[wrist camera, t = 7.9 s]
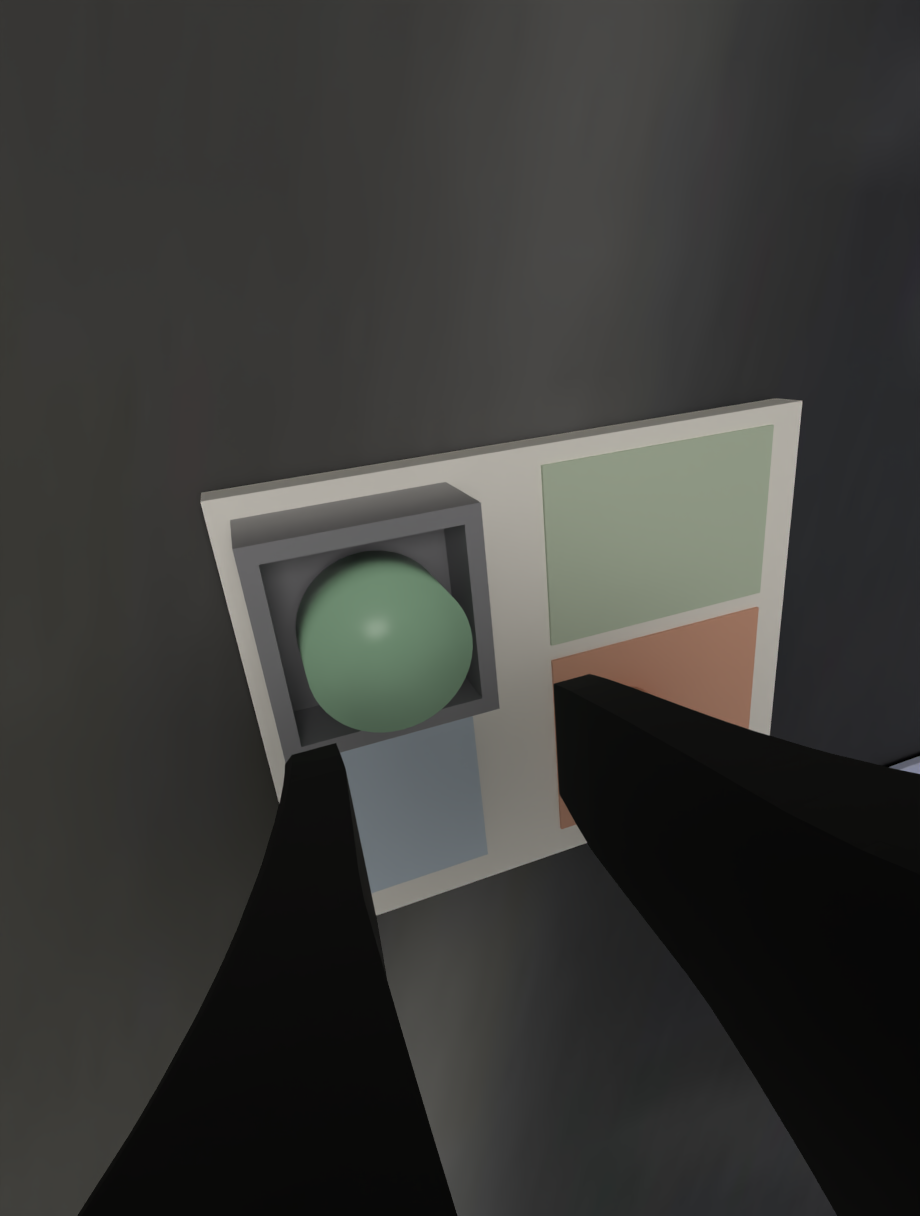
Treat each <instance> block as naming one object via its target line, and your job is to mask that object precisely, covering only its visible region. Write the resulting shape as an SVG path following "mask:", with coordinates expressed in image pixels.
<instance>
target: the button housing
mask: <svg viewBox="0 0 920 1216" xmlns="http://www.w3.org/2000/svg"><path fill="white" fill-rule="evenodd" d="M230 527H231V539H232V550H233V554H234V558H235V562H236V566H237V570H238V574H239V578H240V582H241V586H242V590H243V594H244V598H245V602H246V606H247V610H248V614H249V618H250V622H251V626H252V630H253V634H254V638H255V642H256V646H257V650H258V654H259V658H260V663H261V667H262V671H263V675H264V679H265V683H266V687H267V691H268V695H269V699H270V703H271V707H272V711H273V715H274V719H275V723H276V727H277V731H278V735H279V739H280V743H281V747H282V751H283V755H284V759H285V763H286V762H287V761H288V759H289V758H290V757H291V755H293V754H297V753H301V752H304V751H308V750H312V749H315V748H319V747H323V746H326V745H330V744H334V743H336V744H337V746H338V749H339V752H340V753H341V752H344V751H348V750H351V749H355V748H359V747H362V746H366V745H369V744H373V743H377V742H380V741H384V740H388V739H391V738H395V737H398V736H402V735H406V734H409V733H413V732H417V731H420V730H424V729H427V728H431V727H435V726H438V725H442V724H445V723H449V722H453V721H456V720H460V719H464V718H467V717H471V716H474V715H478V714H482V713H485V712H489V711H493V710H496V709H500V707H499V696H498V685H497V674H496V663H495V652H494V641H493V630H492V619H491V608H490V597H489V586H488V575H487V564H486V554H485V543H484V532H483V521H482V510H481V502H479V501H478V500H476V499H474V498H472V497H471V496H469V495H467V494H466V493H464V492H462V491H460V490H459V489H457V488H455V487H454V486H452V485H450V484H448V483H447V482H442V483H437V484H431V485H425V486H420V487H414V488H408V489H403V490H397V491H391V492H386V493H380V494H374V495H369V496H363V497H357V498H352V499H346V500H340V501H335V502H329V503H323V504H318V505H312V506H306V507H301V508H295V509H289V510H284V511H278V512H272V513H267V514H261V515H255V516H250V517H244V518H238V519H233V520H230ZM365 551H389V552H394V553H398V554H402V555H404V556H407V557H409V558H411V559H413V560H414V561H416V562H418V563H419V564H421V565H422V566H423V567H424V568H426V569H427V570H428V572H429V573H430V574H431V575H432V576H433V577H434V578H435V579H436V580H437V581H438V582H439V583H440V584H441V585H442V586H443V587H444V588H445V589H446V590H447V592H448V593H449V594H450V595H451V596H452V597H453V598H454V599H455V600H456V601H457V602H458V603H459V605H460V606H461V608H462V609H463V611H464V613H465V615H466V617H467V619H468V622H469V625H470V628H471V633H472V640H473V650H472V659H471V663H470V667H469V670H468V673H467V675H466V678H465V680H464V682H463V684H462V686H461V687H460V689H459V690H458V692H457V693H456V695H455V696H454V697H453V698H452V699H451V700H450V702H449V703H448V704H447V705H446V706H444V707H443V708H442V709H441V710H440V711H439V712H437V713H436V714H435V715H433V716H432V717H430V718H429V719H427V720H425V721H424V722H421V723H419V724H417V725H415V726H412V727H409V728H406V729H403V730H398V731H394V732H384V733H381V732H367V731H361V730H357V729H354V728H351V727H349V726H346V725H344V724H342V723H340V722H339V721H337V720H335V719H334V718H332V717H331V716H330V715H329V714H328V713H326V712H325V710H324V709H323V708H322V707H321V706H320V705H319V703H318V702H317V701H316V699H315V698H314V696H313V694H312V691H311V689H310V687H309V683H308V680H307V677H306V673H305V669H304V666H303V662H302V659H301V655H300V651H299V648H298V644H297V639H296V616H297V611H298V608H299V604H300V602H301V600H302V597H303V595H304V593H305V592H306V590H307V588H308V587H309V585H310V584H311V583H312V582H313V580H314V579H315V578H316V577H317V576H318V575H319V574H320V573H321V572H322V571H323V570H324V569H326V568H327V567H329V566H330V565H331V564H333V563H335V562H336V561H338V560H340V559H342V558H344V557H347V556H349V555H352V554H356V553H360V552H365Z"/></svg>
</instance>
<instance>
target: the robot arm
mask: <svg viewBox="0 0 920 1216" xmlns="http://www.w3.org/2000/svg"><path fill="white" fill-rule="evenodd" d="M553 686H554V705H555V723H556V742H557V761H558V780H559V794H560V796H561V798H562V800H563V801H564V803H565V805H566V807H567V809H568V810H569V812H570V814H571V816H572V818H573V819H574V821H575V823H576V825H577V826H578V828H579V830H580V831H581V833H582V835H583V836H584V838H585V840H586V841H587V843H588V845H589V846H590V848H591V850H592V851H593V852H594V854H595V855H596V856H597V858H598V859H599V860H600V862H601V863H602V864H603V866H604V867H605V868H606V870H607V871H608V872H609V874H610V875H611V876H612V878H613V879H614V880H615V881H616V883H617V884H618V885H619V887H620V888H621V889H622V891H623V892H624V893H625V895H626V896H627V897H628V898H629V900H630V901H631V902H632V904H633V905H634V906H635V907H636V909H637V910H638V911H639V913H640V914H641V915H642V916H643V918H644V919H645V920H646V922H647V923H648V924H649V926H650V927H651V928H652V929H653V931H654V932H655V933H656V935H657V936H658V937H659V938H660V940H661V941H662V942H663V944H664V945H665V946H666V947H667V949H668V950H669V951H670V953H671V954H672V955H673V956H674V958H675V959H676V960H677V962H678V963H679V964H680V966H681V967H682V968H683V969H684V971H685V972H686V973H687V975H688V976H689V977H690V979H691V980H692V982H693V983H694V984H695V986H696V987H697V989H698V990H699V991H700V993H701V994H702V996H703V997H704V998H705V1000H706V1001H707V1003H708V1004H709V1005H710V1007H711V1008H712V1010H713V1012H714V1013H715V1015H716V1016H717V1018H718V1019H719V1021H720V1023H721V1024H722V1026H723V1027H724V1029H725V1030H726V1032H727V1034H728V1035H729V1037H730V1038H731V1040H732V1041H733V1043H734V1045H735V1046H736V1048H737V1049H738V1051H739V1053H740V1054H741V1056H742V1057H743V1059H744V1060H745V1062H746V1064H747V1065H748V1067H749V1068H750V1070H751V1071H752V1073H753V1075H754V1076H755V1078H756V1079H757V1081H758V1083H759V1084H760V1086H761V1088H762V1089H763V1091H764V1093H765V1094H766V1096H767V1098H768V1099H769V1101H770V1102H771V1104H772V1106H773V1107H774V1109H775V1111H776V1112H777V1114H778V1116H779V1117H780V1119H781V1121H782V1122H783V1124H784V1126H785V1127H786V1129H787V1131H788V1132H789V1134H790V1136H791V1137H792V1139H793V1140H794V1142H795V1144H796V1145H797V1147H798V1149H799V1150H800V1152H801V1154H802V1155H803V1157H804V1159H805V1160H806V1162H807V1164H808V1166H809V1167H810V1169H811V1171H812V1172H813V1174H814V1176H815V1178H816V1179H817V1181H818V1183H819V1185H820V1186H821V1188H822V1190H823V1192H824V1193H825V1195H826V1197H827V1199H828V1200H829V1202H830V1204H831V1206H832V1207H833V1209H834V1211H835V1212H836V1214H837V1216H920V756H918V757H915V758H912V759H910V760H907V761H904V762H901V763H899V764H896V765H893V766H890V767H885V766H880V765H876V764H872V763H868V762H864V761H860V760H855V759H851V758H847V757H843V756H839V755H835V754H831V753H827V752H823V751H820V750H816V749H812V748H809V747H805V746H802V745H798V744H795V743H792V742H788V741H785V740H782V739H779V738H775V737H772V736H769V735H766V734H762V733H759V732H756V731H753V730H750V729H747V728H744V727H741V726H738V725H735V724H732V723H729V722H726V721H723V720H720V719H717V718H714V717H712V716H709V715H706V714H703V713H700V712H698V711H695V710H692V709H689V708H686V707H684V706H681V705H678V704H676V703H673V702H670V701H667V700H665V699H662V698H659V697H657V696H654V695H651V694H649V693H646V692H643V691H640V690H638V689H635V688H632V687H629V686H627V685H624V684H621V683H618V682H615V681H612V680H609V679H606V678H603V677H599V676H596V675H592V674H587V675H584V676H580V677H576V678H573V679H569V680H565V681H562V682H558V683H554V684H553ZM78 1216H457V1213H456V1210H455V1207H454V1203H453V1200H452V1197H451V1193H450V1190H449V1187H448V1184H447V1180H446V1177H445V1174H444V1170H443V1167H442V1164H441V1161H440V1157H439V1154H438V1151H437V1148H436V1144H435V1141H434V1138H433V1134H432V1131H431V1128H430V1124H429V1121H428V1118H427V1114H426V1111H425V1108H424V1104H423V1101H422V1097H421V1094H420V1091H419V1087H418V1084H417V1081H416V1077H415V1074H414V1070H413V1067H412V1064H411V1060H410V1057H409V1054H408V1050H407V1047H406V1044H405V1040H404V1037H403V1033H402V1030H401V1027H400V1023H399V1020H398V1016H397V1013H396V1009H395V1006H394V1002H393V999H392V995H391V992H390V989H389V985H388V982H387V977H386V971H385V965H384V959H383V953H382V947H381V941H380V935H379V929H378V923H377V918H376V913H375V909H374V904H373V899H372V894H371V889H370V884H369V879H368V875H367V870H366V865H365V860H364V855H363V850H362V846H361V841H360V836H359V831H358V826H357V821H356V816H355V812H354V807H353V802H352V797H351V792H350V787H349V783H348V778H347V773H346V768H345V765H344V762H343V760H342V757H341V754H340V752H339V749H338V746H337V744H336V743H334V744H330V745H326V746H323V747H319V748H315V749H312V750H308V751H304V752H301V753H297V754H293V755H291V757H290V758H289V759H288V761H287V762H286V764H285V774H284V782H283V788H282V793H281V798H280V803H279V807H278V811H277V815H276V819H275V823H274V826H273V830H272V833H271V836H270V839H269V843H268V846H267V849H266V852H265V856H264V859H263V862H262V865H261V868H260V871H259V874H258V877H257V879H256V882H255V884H254V887H253V890H252V892H251V895H250V897H249V900H248V903H247V905H246V908H245V910H244V913H243V916H242V918H241V921H240V923H239V926H238V928H237V931H236V933H235V935H234V938H233V940H232V942H231V945H230V947H229V949H228V951H227V954H226V956H225V958H224V960H223V962H222V965H221V967H220V969H219V971H218V973H217V975H216V977H215V979H214V981H213V983H212V986H211V988H210V990H209V992H208V994H207V996H206V998H205V1000H204V1002H203V1004H202V1006H201V1008H200V1010H199V1012H198V1014H197V1016H196V1018H195V1020H194V1022H193V1023H192V1025H191V1027H190V1029H189V1031H188V1033H187V1034H186V1036H185V1038H184V1040H183V1042H182V1043H181V1045H180V1047H179V1049H178V1051H177V1053H176V1054H175V1056H174V1058H173V1060H172V1062H171V1064H170V1065H169V1067H168V1069H167V1071H166V1073H165V1075H164V1076H163V1078H162V1080H161V1082H160V1084H159V1085H158V1087H157V1089H156V1091H155V1092H154V1094H153V1096H152V1097H151V1099H150V1101H149V1103H148V1104H147V1106H146V1108H145V1109H144V1111H143V1113H142V1115H141V1116H140V1118H139V1120H138V1121H137V1123H136V1125H135V1126H134V1128H133V1130H132V1131H131V1133H130V1134H129V1136H128V1138H127V1139H126V1141H125V1142H124V1144H123V1145H122V1147H121V1149H120V1150H119V1152H118V1153H117V1155H116V1156H115V1158H114V1159H113V1161H112V1163H111V1164H110V1166H109V1167H108V1169H107V1170H106V1172H105V1173H104V1175H103V1177H102V1178H101V1180H100V1181H99V1183H98V1184H97V1186H96V1188H95V1189H94V1191H93V1192H92V1194H91V1195H90V1197H89V1198H88V1200H87V1202H86V1203H85V1205H84V1206H83V1208H82V1209H81V1211H80V1212H79V1214H78Z"/></svg>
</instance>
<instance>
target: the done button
mask: <svg viewBox="0 0 920 1216" xmlns="http://www.w3.org/2000/svg"><path fill="white" fill-rule="evenodd" d="M296 639H297V644H298V648H299V651H300V655H301V659H302V662H303V666H304V669H305V673H306V677H307V680H308V683H309V687H310V689H311V691H312V694H313V696H314V698H315V699H316V701H317V702H318V703H319V705H320V706H321V707H322V708H323V709H324V710H325V712H326V713H328V714H329V715H330V716H331V717H332V718H334V719H335V720H337V721H339V722H340V723H342V724H344V725H346V726H349V727H351V728H354V729H357V730H361V731H367V732H381V733H384V732H394V731H398V730H403V729H406V728H409V727H412V726H415V725H417V724H419V723H421V722H424V721H425V720H427V719H429V718H430V717H432V716H433V715H435V714H436V713H437V712H439V711H440V710H441V709H442V708H443V707H444V706H446V705H447V704H448V703H449V702H450V700H451V699H452V698H453V697H454V696H455V695H456V693H457V692H458V690H459V689H460V687H461V686H462V684H463V682H464V680H465V678H466V675H467V673H468V670H469V667H470V663H471V659H472V650H473V640H472V633H471V628H470V625H469V622H468V619H467V617H466V615H465V613H464V611H463V609H462V608H461V606H460V605H459V603H458V602H457V601H456V600H455V599H454V598H453V597H452V596H451V595H450V594H449V593H448V592H447V590H446V589H445V588H444V587H443V586H442V585H441V584H440V583H439V582H438V581H437V580H436V579H435V578H434V577H433V576H432V575H431V574H430V573H429V572H428V570H427V569H426V568H424V567H423V566H422V565H421V564H419V563H418V562H416V561H414V560H413V559H411V558H409V557H407V556H404V555H402V554H398V553H394V552H389V551H365V552H360V553H356V554H352V555H349V556H347V557H344V558H342V559H340V560H338V561H336V562H335V563H333V564H331V565H330V566H329V567H327V568H326V569H324V570H323V571H322V572H321V573H320V574H319V575H318V576H317V577H316V578H315V579H314V580H313V582H312V583H311V584H310V585H309V587H308V588H307V590H306V592H305V593H304V595H303V597H302V600H301V602H300V604H299V608H298V611H297V616H296Z"/></svg>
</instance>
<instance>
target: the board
mask: <svg viewBox="0 0 920 1216" xmlns="http://www.w3.org/2000/svg"><path fill="white" fill-rule="evenodd" d="M801 410H802V401H800V400H789V399H778V398H775V399H768V400H762V401H756V402H750V403H744V404H738V405H732V406H726V407H720V408H714V409H708V410H702V411H696V412H689V413H683V414H677V415H671V416H665V417H659V418H653V419H647V420H641V421H635V422H629V423H623V424H616V425H610V426H604V427H598V428H592V429H586V430H580V431H574V432H568V433H562V434H556V435H550V436H543V437H537V438H531V439H525V440H519V441H513V442H507V443H501V444H495V445H489V446H483V447H477V448H471V449H464V450H458V451H452V452H446V453H440V454H434V455H428V456H422V457H416V458H410V459H404V460H398V461H391V462H385V463H379V464H373V465H367V466H361V467H355V468H349V469H343V470H337V471H331V472H325V473H319V474H312V475H306V476H300V477H294V478H288V479H282V480H276V481H270V482H264V483H258V484H252V485H246V486H239V487H233V488H227V489H221V490H215V491H209V492H203V493H201V501H200V502H201V506H202V510H203V514H204V517H205V521H206V525H207V529H208V533H209V537H210V540H211V544H212V548H213V552H214V556H215V560H216V563H217V567H218V571H219V575H220V579H221V583H222V586H223V590H224V594H225V598H226V602H227V606H228V609H229V613H230V617H231V621H232V625H233V629H234V632H235V636H236V640H237V644H238V648H239V652H240V655H241V659H242V663H243V667H244V671H245V675H246V678H247V682H248V686H249V690H250V694H251V698H252V701H253V705H254V709H255V713H256V717H257V721H258V724H259V728H260V732H261V736H262V740H263V744H264V747H265V751H266V755H267V759H268V763H269V767H270V770H271V774H272V778H273V782H274V786H275V790H276V793H277V797H278V801H279V803H280V798H281V793H282V788H283V782H284V774H285V764H286V763H285V759H284V755H283V751H282V747H281V743H280V739H279V735H278V731H277V727H276V723H275V719H274V715H273V711H272V707H271V703H270V699H269V695H268V691H267V687H266V683H265V679H264V675H263V671H262V667H261V663H260V658H259V654H258V650H257V646H256V642H255V638H254V634H253V630H252V626H251V622H250V618H249V614H248V610H247V606H246V602H245V598H244V594H243V590H242V586H241V582H240V578H239V574H238V570H237V566H236V562H235V558H234V554H233V550H232V539H231V527H230V520H233V519H238V518H244V517H250V516H255V515H261V514H267V513H272V512H278V511H284V510H289V509H295V508H301V507H306V506H312V505H318V504H323V503H329V502H335V501H340V500H346V499H352V498H357V497H363V496H369V495H374V494H380V493H386V492H391V491H397V490H403V489H408V488H414V487H420V486H425V485H431V484H437V483H442V482H447V483H448V484H450V485H452V486H454V487H455V488H457V489H459V490H460V491H462V492H464V493H466V494H467V495H469V496H471V497H472V498H474V499H476V500H478V501H479V502H481V510H482V521H483V532H484V543H485V554H486V564H487V575H488V586H489V597H490V608H491V619H492V630H493V641H494V652H495V663H496V674H497V685H498V696H499V707H500V709H496V710H493V711H489V712H485V713H482V714H478V715H474V716H471V717H467V718H464V719H460V720H456V721H453V722H449V723H445V724H442V725H438V726H435V727H431V728H427V729H424V730H420V731H417V732H413V733H409V734H406V735H402V736H398V737H395V738H391V739H388V740H384V741H380V742H377V743H373V744H369V745H366V746H362V747H359V748H355V749H351V750H348V751H344V752H341V753H340V754H341V757H342V760H343V762H344V765H345V768H346V773H347V778H348V783H349V787H350V792H351V797H352V802H353V807H354V812H355V816H356V821H357V826H358V831H359V836H360V841H361V846H362V850H363V855H364V860H365V865H366V870H367V875H368V879H369V884H370V889H371V894H372V899H373V904H374V909H375V913H376V916H377V915H380V914H383V913H386V912H388V911H391V910H394V909H397V908H400V907H403V906H406V905H409V904H412V903H414V902H417V901H420V900H423V899H426V898H429V897H432V896H435V895H438V894H441V893H443V892H446V891H449V890H452V889H455V888H458V887H461V886H464V885H467V884H469V883H472V882H475V881H478V880H481V879H484V878H487V877H490V876H493V875H495V874H498V873H501V872H504V871H507V870H510V869H513V868H516V867H519V866H521V865H524V864H527V863H530V862H533V861H536V860H539V859H542V858H545V857H548V856H550V855H553V854H556V853H559V852H562V851H565V850H568V849H571V848H574V847H576V846H579V845H582V844H585V843H587V841H586V840H585V838H584V836H583V835H582V833H581V831H580V830H579V828H578V826H577V825H576V823H575V821H574V819H573V818H572V816H571V814H570V812H569V810H568V809H567V807H566V805H565V803H564V801H563V800H562V798H561V796H560V794H559V780H558V761H557V742H556V723H555V705H554V686H553V684H554V683H558V682H562V681H565V680H569V679H573V678H576V677H580V676H584V675H587V674H592V675H596V676H599V677H603V678H606V679H609V680H612V681H615V682H618V683H621V684H624V685H627V686H634V687H638V688H641V689H644V690H645V691H647V692H648V693H650V694H651V695H654V696H657V697H659V698H662V699H665V700H667V701H670V702H673V703H676V704H678V705H681V706H684V707H686V708H689V709H692V710H695V711H698V712H700V713H703V714H706V715H709V716H712V717H714V718H717V719H720V720H723V721H726V722H729V723H732V724H735V725H738V726H741V727H744V728H747V729H750V730H753V731H756V732H759V733H762V734H766V735H769V736H770V726H771V716H772V706H773V696H774V685H775V675H776V665H777V655H778V645H779V634H780V624H781V614H782V604H783V594H784V583H785V573H786V563H787V553H788V542H789V532H790V522H791V512H792V502H793V491H794V481H795V471H796V461H797V451H798V440H799V430H800V420H801Z"/></svg>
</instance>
